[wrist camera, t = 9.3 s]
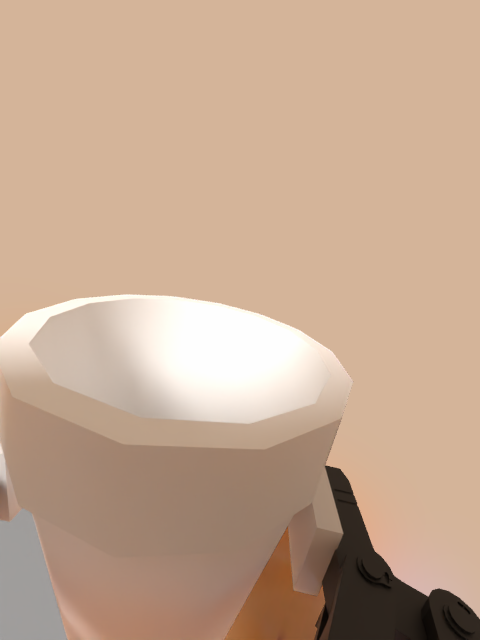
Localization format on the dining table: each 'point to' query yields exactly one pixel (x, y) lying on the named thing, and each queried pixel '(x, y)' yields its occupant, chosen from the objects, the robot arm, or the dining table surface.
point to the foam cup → (162, 454)
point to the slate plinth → (26, 584)
